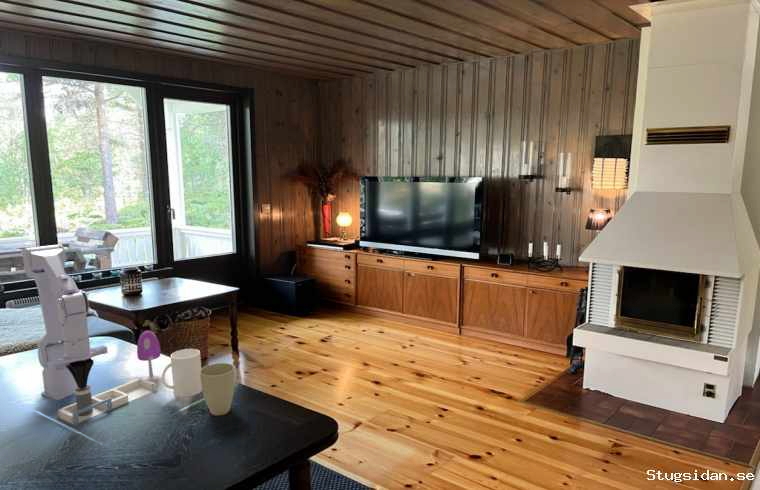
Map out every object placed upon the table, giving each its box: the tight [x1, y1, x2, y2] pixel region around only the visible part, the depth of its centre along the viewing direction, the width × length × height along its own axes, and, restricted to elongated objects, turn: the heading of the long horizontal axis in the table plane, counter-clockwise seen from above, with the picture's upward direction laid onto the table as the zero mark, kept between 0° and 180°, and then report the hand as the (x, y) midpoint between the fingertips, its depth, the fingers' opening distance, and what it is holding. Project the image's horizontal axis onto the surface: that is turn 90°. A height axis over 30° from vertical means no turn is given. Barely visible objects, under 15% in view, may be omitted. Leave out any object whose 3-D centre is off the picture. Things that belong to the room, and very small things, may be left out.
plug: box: [74, 385, 93, 416], centre depth 141 cm, size 4×4×7 cm
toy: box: [136, 330, 161, 376], centre depth 166 cm, size 7×7×15 cm
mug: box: [161, 348, 203, 398], centre depth 153 cm, size 12×8×12 cm
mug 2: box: [200, 362, 236, 416], centre depth 143 cm, size 11×10×12 cm
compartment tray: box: [56, 377, 158, 426], centre depth 147 cm, size 8×24×4 cm, turn 147°
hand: (82, 386), depth 141 cm, fingers closed
